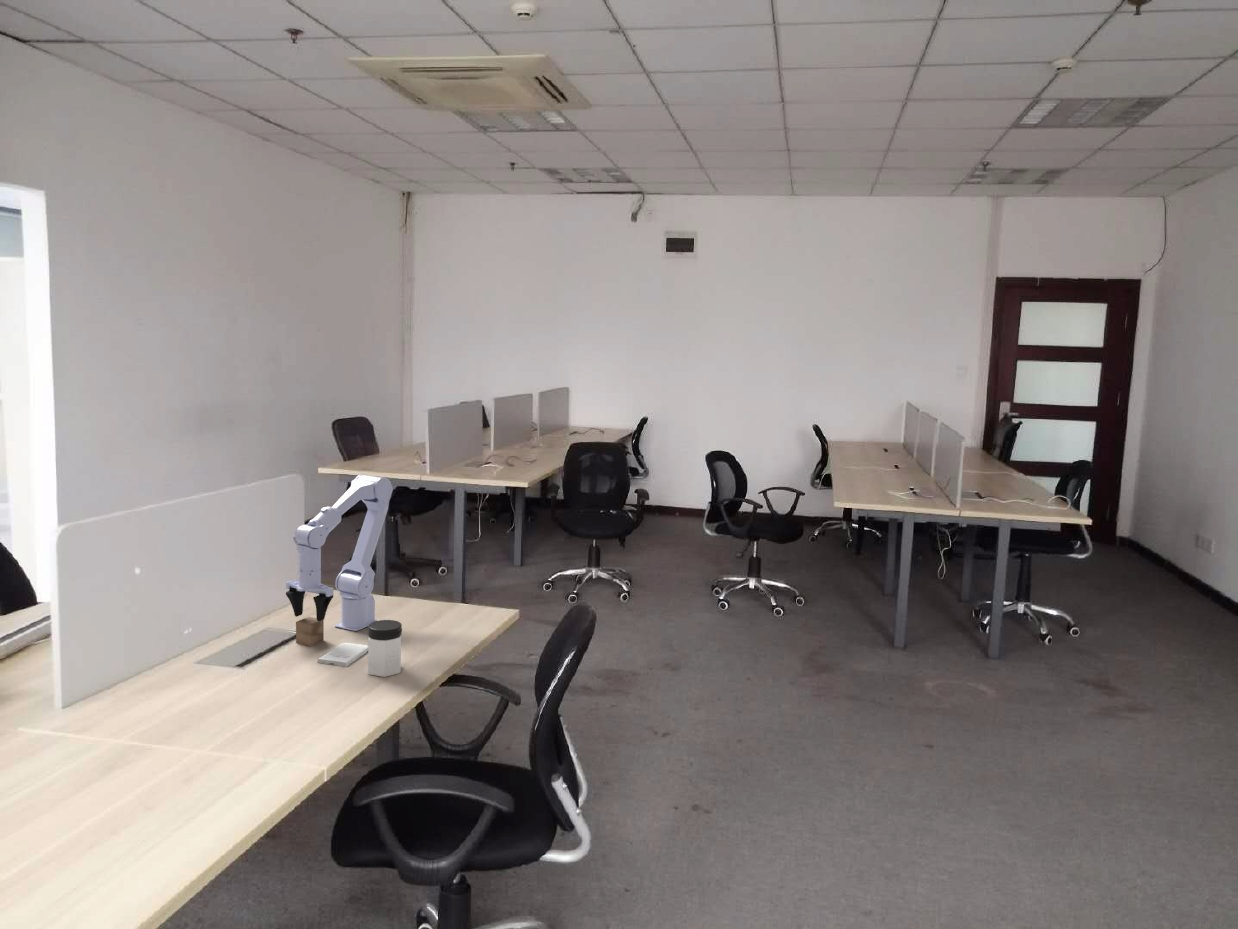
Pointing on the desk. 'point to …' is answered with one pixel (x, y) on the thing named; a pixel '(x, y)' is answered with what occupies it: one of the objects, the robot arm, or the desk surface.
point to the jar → (384, 648)
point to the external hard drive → (343, 654)
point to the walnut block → (309, 631)
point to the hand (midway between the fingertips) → (309, 617)
